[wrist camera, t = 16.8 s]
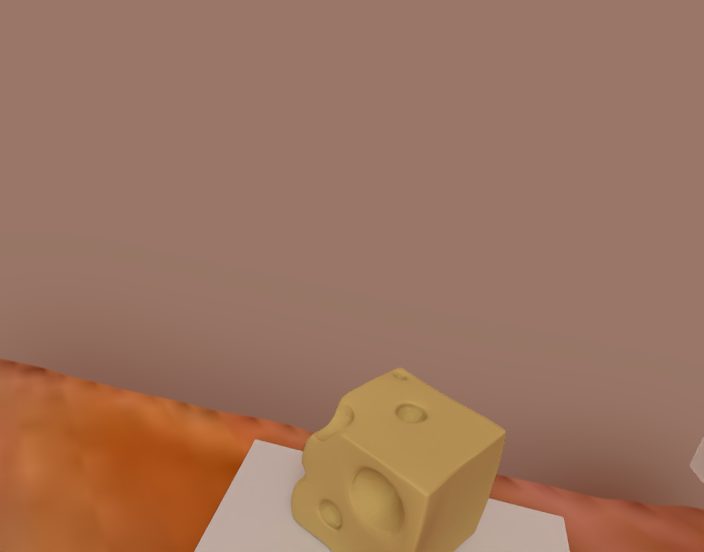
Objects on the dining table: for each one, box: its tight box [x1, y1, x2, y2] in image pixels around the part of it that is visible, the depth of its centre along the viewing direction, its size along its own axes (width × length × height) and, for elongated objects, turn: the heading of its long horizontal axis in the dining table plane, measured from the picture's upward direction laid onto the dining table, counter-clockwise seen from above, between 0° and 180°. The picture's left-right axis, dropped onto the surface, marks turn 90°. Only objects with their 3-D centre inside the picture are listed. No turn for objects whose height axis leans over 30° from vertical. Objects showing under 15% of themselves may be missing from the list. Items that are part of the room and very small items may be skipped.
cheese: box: [291, 367, 506, 552], centre depth 42 cm, size 10×11×10 cm
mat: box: [194, 439, 570, 552], centre depth 44 cm, size 26×13×1 cm, turn 79°
